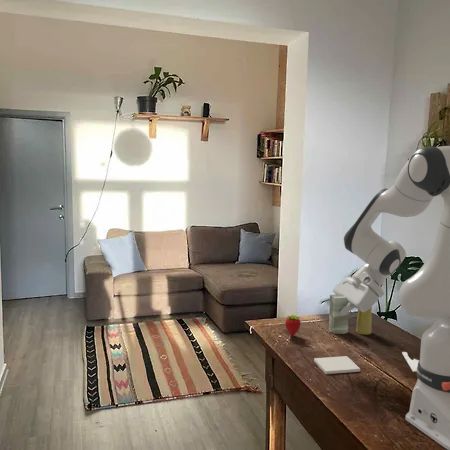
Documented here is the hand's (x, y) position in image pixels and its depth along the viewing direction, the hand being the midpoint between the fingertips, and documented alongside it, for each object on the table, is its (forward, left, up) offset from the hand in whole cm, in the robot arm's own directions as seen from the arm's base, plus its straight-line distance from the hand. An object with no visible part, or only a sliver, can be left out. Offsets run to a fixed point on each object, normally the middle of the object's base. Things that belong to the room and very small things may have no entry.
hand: (337, 311), depth 151 cm
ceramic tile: (-1, 0, -19) cm, 19 cm away
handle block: (0, -1, -7) cm, 7 cm away
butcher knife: (-3, -28, -19) cm, 34 cm away
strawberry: (+27, +6, -19) cm, 33 cm away
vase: (+27, -24, -19) cm, 41 cm away
